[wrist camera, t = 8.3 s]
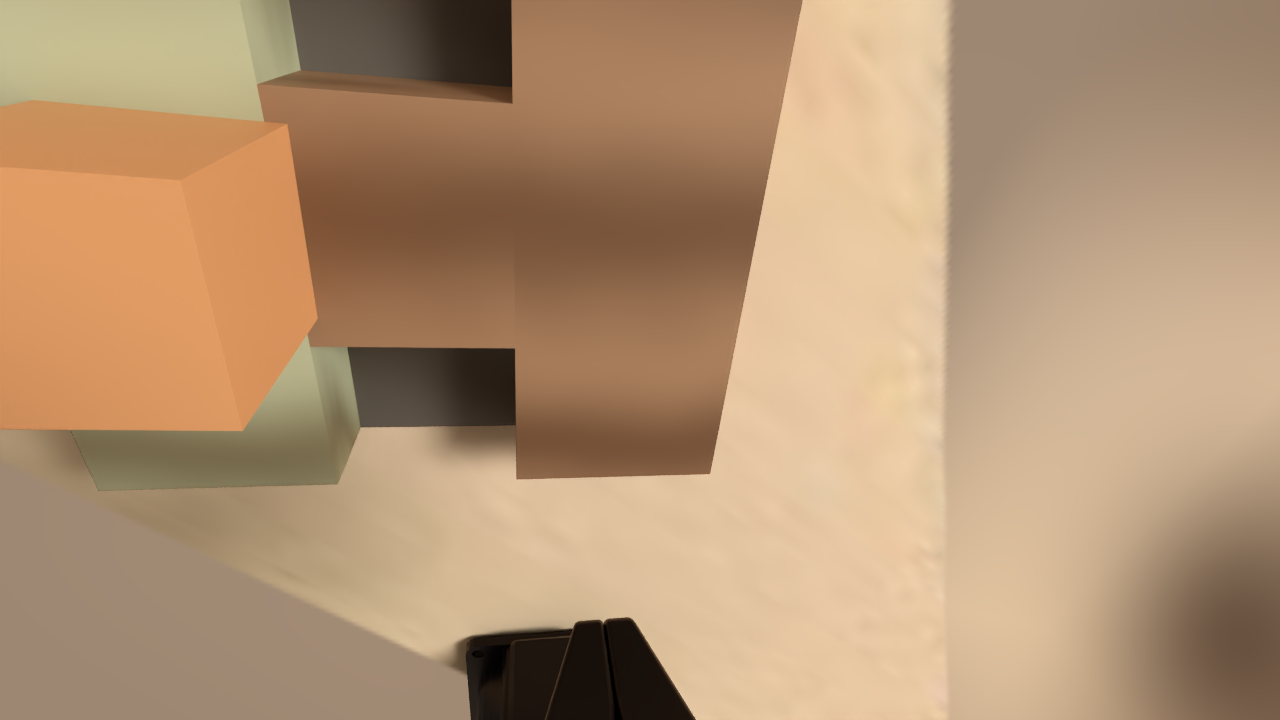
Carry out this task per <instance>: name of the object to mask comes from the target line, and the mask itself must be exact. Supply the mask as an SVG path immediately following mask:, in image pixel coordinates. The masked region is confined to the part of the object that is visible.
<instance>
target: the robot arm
mask: <svg viewBox="0 0 1280 720" xmlns="http://www.w3.org/2000/svg"><path fill="white" fill-rule="evenodd" d="M466 663H467V676H468V688H469V701H470V713H471V720H696V719H695V717H694V716H693V714H692V713H691V711H690V709H689V708H688V706H687V705H686V703H685V701H684V700H683V698H682V697H681V695H680V693H679V692H678V690H677V689H676V687H675V685H674V684H673V682H672V681H671V679H670V677H669V676H668V674H667V673H666V671H665V669H664V668H663V666H662V665H661V663H660V661H659V660H658V658H657V657H656V655H655V653H654V652H653V650H652V649H651V647H650V645H649V644H648V642H647V641H646V639H645V637H644V636H643V634H642V633H641V631H640V629H639V628H638V626H637V625H636V623H635V622H634V621H633V620H632V619H631V618H629V617H625V618H613V619H607V620H605V622H604V624H603V622H602V621H600V620H588V621H578V622H576V623H575V625H574V627H573V630H572V632H557V633H543V634H529V635H515V636H501V637H487V638H476V639H473V640H471V641H469V642H468V643H467V649H466Z"/></svg>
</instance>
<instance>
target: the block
mask: <svg viewBox="0 0 1280 720" xmlns="http://www.w3.org/2000/svg"><path fill="white" fill-rule="evenodd" d="M317 319H318V317H317V311H316V304H315V298H314V292H313V285H312V279H311V272H310V266H309V260H308V253H307V247H306V240H305V234H304V228H303V221H302V215H301V208H300V202H299V196H298V189H297V183H296V177H295V170H294V164H293V157H292V151H291V145H290V138H289V132H288V125H287V124H283V123H272V122H262V121H251V120H240V119H230V118H219V117H209V116H198V115H187V114H177V113H166V112H155V111H145V110H134V109H123V108H113V107H102V106H91V105H81V104H70V103H60V102H49V101H38V100H31V101H26V102H21V103H16V104H12V105H7V106H2V107H0V429H39V430H170V431H243V430H244V428H245V427H246V425H247V424H248V422H249V421H250V419H251V418H252V416H253V415H254V413H255V412H256V410H257V409H258V407H259V406H260V404H261V403H262V401H263V400H264V398H265V397H266V395H267V394H268V392H269V391H270V389H271V388H272V386H273V385H274V383H275V382H276V380H277V379H278V377H279V376H280V374H281V373H282V371H283V370H284V368H285V367H286V365H287V364H288V362H289V361H290V359H291V358H292V356H293V355H294V353H295V352H296V350H297V349H298V347H299V346H300V344H301V343H302V341H303V340H304V338H305V337H306V335H307V334H308V332H309V331H310V329H311V328H312V327H313V325H314V324H315V322H316V321H317Z"/></svg>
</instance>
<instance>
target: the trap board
mask: <svg viewBox="0 0 1280 720" xmlns="http://www.w3.org/2000/svg"><path fill="white" fill-rule="evenodd" d="M801 5H802V0H0V107H2V106H7V105H12V104H16V103H21V102H26V101H31V100H38V101H49V102H60V103H70V104H81V105H91V106H102V107H113V108H123V109H134V110H145V111H155V112H166V113H177V114H187V115H198V116H209V117H219V118H230V119H240V120H251V121H262V122H272V123H283V124H287V125H288V132H289V138H290V145H291V151H292V157H293V164H294V170H295V177H296V183H297V189H298V196H299V202H300V208H301V215H302V221H303V228H304V234H305V240H306V247H307V253H308V260H309V266H310V272H311V279H312V285H313V292H314V298H315V304H316V311H317V317H318V319H317V321H316V322H315V324H314V325H313V327H312V328H311V329H310V331H309V332H308V334H307V335H306V337H305V338H304V340H303V341H302V343H301V344H300V346H299V347H298V349H297V350H296V352H295V353H294V355H293V356H292V358H291V359H290V361H289V362H288V364H287V365H286V367H285V368H284V370H283V371H282V373H281V374H280V376H279V377H278V379H277V380H276V382H275V383H274V385H273V386H272V388H271V389H270V391H269V392H268V394H267V395H266V397H265V398H264V400H263V401H262V403H261V404H260V406H259V407H258V409H257V410H256V412H255V413H254V415H253V416H252V418H251V419H250V421H249V422H248V424H247V425H246V427H245V428H244V430H243V431H170V430H70V431H71V433H72V435H73V437H74V439H75V441H76V443H77V446H78V448H79V450H80V452H81V454H82V456H83V459H84V461H85V463H86V465H87V467H88V469H89V472H90V474H91V476H92V478H93V480H94V482H95V484H96V487H97V489H98V491H108V490H144V489H181V488H217V487H253V486H290V485H326V484H338V482H339V480H340V477H341V475H342V472H343V470H344V467H345V465H346V462H347V460H348V457H349V455H350V452H351V450H352V448H353V445H354V443H355V440H356V438H357V435H358V433H359V430H360V428H361V427H420V426H500V425H516V477H517V479H545V478H581V477H618V476H654V475H690V474H710V471H711V466H712V461H713V456H714V451H715V445H716V440H717V435H718V430H719V425H720V420H721V415H722V410H723V404H724V399H725V394H726V389H727V384H728V379H729V374H730V369H731V363H732V358H733V353H734V348H735V343H736V338H737V333H738V328H739V323H740V317H741V312H742V307H743V302H744V297H745V292H746V287H747V282H748V276H749V271H750V266H751V261H752V256H753V251H754V246H755V241H756V235H757V230H758V225H759V220H760V215H761V210H762V205H763V200H764V195H765V189H766V184H767V179H768V174H769V169H770V164H771V159H772V154H773V148H774V143H775V138H776V133H777V128H778V123H779V118H780V113H781V107H782V102H783V97H784V92H785V87H786V82H787V77H788V72H789V67H790V61H791V56H792V51H793V46H794V41H795V36H796V31H797V26H798V20H799V15H800V10H801Z"/></svg>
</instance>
